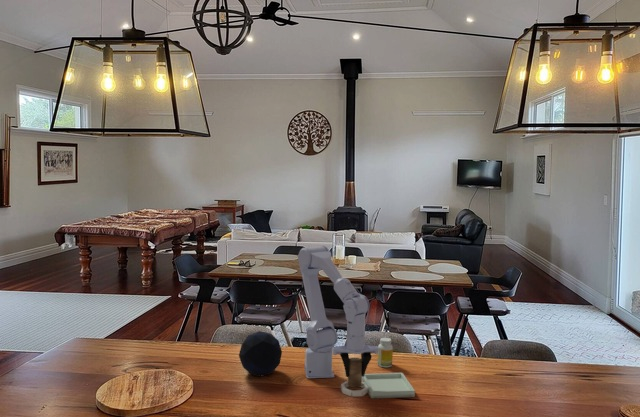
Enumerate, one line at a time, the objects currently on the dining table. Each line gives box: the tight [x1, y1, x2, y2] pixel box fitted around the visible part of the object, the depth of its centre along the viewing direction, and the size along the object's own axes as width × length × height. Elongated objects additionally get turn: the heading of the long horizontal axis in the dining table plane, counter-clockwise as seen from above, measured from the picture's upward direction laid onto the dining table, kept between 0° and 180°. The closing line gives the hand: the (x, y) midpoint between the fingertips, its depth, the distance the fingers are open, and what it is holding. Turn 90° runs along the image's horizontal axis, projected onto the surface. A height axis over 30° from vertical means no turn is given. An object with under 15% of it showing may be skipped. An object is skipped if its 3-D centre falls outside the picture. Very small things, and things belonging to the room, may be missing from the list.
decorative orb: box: [238, 330, 283, 377], centre depth 171 cm, size 14×15×15 cm
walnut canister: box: [347, 357, 363, 388], centre depth 159 cm, size 4×4×8 cm
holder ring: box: [340, 380, 368, 397], centre depth 159 cm, size 8×8×2 cm
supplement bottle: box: [377, 337, 394, 368], centre depth 180 cm, size 5×5×10 cm
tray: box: [362, 372, 416, 399], centre depth 161 cm, size 14×14×2 cm
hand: (354, 375), depth 159 cm, fingers closed on walnut canister, 4 cm apart
